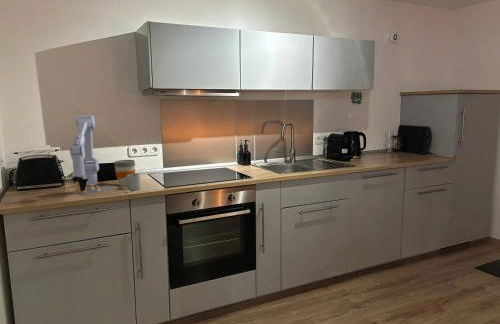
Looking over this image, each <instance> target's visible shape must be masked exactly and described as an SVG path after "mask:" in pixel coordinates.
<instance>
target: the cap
mask: <svg viewBox="0 0 500 324" xmlns="http://www.w3.org/2000/svg"><path fill="white" fill-rule="evenodd" d="M74 187H75V191H76V193H83V192H86V189H87V187H86V188H85V191H81V190H80V186H79V183H78V181H76V182H75V183H74Z"/></svg>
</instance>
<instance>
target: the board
mask: <svg viewBox="0 0 500 324" xmlns="http://www.w3.org/2000/svg"><path fill="white" fill-rule="evenodd" d="M118 189H119V188H117V187H115V186H112V185H108V184H107V185H101V186H99V185H96V186H95V187H94V185H93V184H90V186H89V187H88V188H86V192H83V193H76V190H73V191H71V194H75V195H77V196H80V197H82V196H86V195H87V196H88V195H91V194H97V193H102V192H108V191H112V190H118Z"/></svg>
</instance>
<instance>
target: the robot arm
mask: <svg viewBox="0 0 500 324" xmlns="http://www.w3.org/2000/svg"><path fill="white" fill-rule="evenodd" d="M74 119H75V125H76V127H77V132H76V133H77V134H76V135H75V136H74V139H73V143H72V145H71V146H70V147H69V154H70V158H71V159H72V167H73V168H72V169H73V170H72V171H73V172H72V174H71V180H72V181H73V183H74V184H75V182H76V181H78V183H79V186H80V190H81V191H85V188H86V189H87V186H89V187H90V184H93V186H95V185H96V186H97V185H98V174H97V173H98V172H99V170H100V164H99V160H98V158H97V157H95V156H94V145H93V130H95V129H96V120H95V116H94V115H93V114H92V115H76V116H75V118H74Z"/></svg>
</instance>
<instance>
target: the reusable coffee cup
mask: <svg viewBox="0 0 500 324" xmlns="http://www.w3.org/2000/svg"><path fill="white" fill-rule="evenodd" d="M114 168H115V170H114V173H115V176H116V178H117V182H118V186H120V187H124V186H123V179H124V178H125V177H127V175H128V174H136V161H135V160H134V159H122V160H115V161H114ZM126 185H128V180H126Z"/></svg>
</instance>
